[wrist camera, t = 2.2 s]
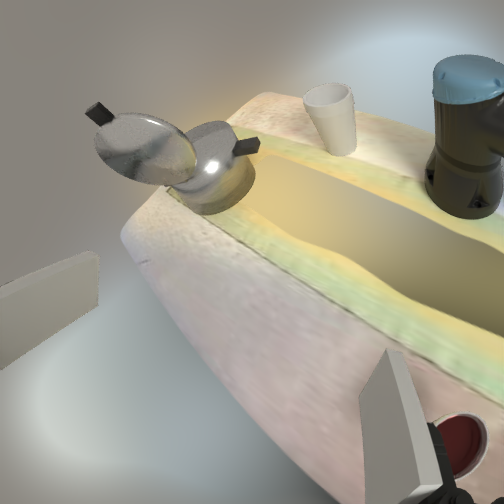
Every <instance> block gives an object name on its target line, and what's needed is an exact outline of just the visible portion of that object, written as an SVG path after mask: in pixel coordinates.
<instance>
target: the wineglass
mask: <svg viewBox="0 0 504 504" xmlns="http://www.w3.org/2000/svg"><path fill="white" fill-rule="evenodd" d="M431 423H434V425H435V426H436V427H437V429H438V430H439V431H440V433H441V435H442V438H443V441H444V444H445V445H444V447H445V448H446V451H447V456H448V457H449V461H450V464H451V468H452V472H453V475H454V479H455V481H458V480H461V479H463V478H465V477H466V476H468V475H469V474H471V473H472V472H473V471H474V470H475V469H476V468H477V467H478V466H479V465H480V463H481V462H482V460H483V458H484V456H485V455H486V453H487V449H488V445H489V430H488V427H487V425H486V423H485V421H484V420H483V419H482V418H481V417H480V416H479V415H477V414H475V413H472V412H452V413H449V414H445V415H443V416H441V417H440V418H438V419H437V420H435V421H433V422H431Z"/></svg>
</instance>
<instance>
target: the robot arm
mask: <svg viewBox="0 0 504 504" xmlns="http://www.w3.org/2000/svg"><path fill="white" fill-rule="evenodd" d="M432 94H433V97H434V109H435V146H434V149H433V151H432V153H431V156H430V158H429V160H428V162H427V165H426V169H425V186H426V190H427V192H428V194H429V196H430V197H431V199H432V200H433V201H434V202H435V203H436V204H437V205H438V206H439V207H440V208H441V209H443V210H444V211H446V212H447V213H449V214H451V215H454V216H456V217H459V218H463V219H481V218H485V217H487V216H489V215H491V214H492V213H493V212H494V211H495V210H496V209H497V207H498V206H499V203H500V200H501V197H502V193H503V181H502V172H501V164H500V161H501V157H503V158H504V65H503V64H502V63H500V62H496V61H495V60H493V59H490V58H488V57H483V56H478V55H456V56H451V57H447V58H445V59H443V60H441V61H440V62H438V63H437V65H436V66H435V68H434V71H433V91H432ZM98 277H99V255H98V254H96V253H94V252H91V251H89V250H88V251H85V252H83V253H80V254H77V255H75V256H72V257H70V258H67V259H64V260H62V261H59V262H57V263H54V264H52V265H50V266H47V267H45V268H42V269H40V270H37V271H35V272H32V273H30V274H28V275H26V276H23V277H21V278H18V279H16V280H13V281H11V282H8V283H6V284H4V285H2V286H0V370H2V369H4V368H5V367H7V366H8V365H9V364H11V363H12V362H14V361H15V360H17V359H18V358H20V357H21V356H22V355H24V354H25V353H27V352H28V351H30V350H31V349H33V348H34V347H36V346H37V345H39V344H40V343H42V342H43V341H45V340H46V339H48V338H49V337H51V336H52V335H54V334H55V333H57V332H58V331H60V330H61V329H63V328H64V327H66V326H67V325H69V324H71V323H72V322H74V321H75V320H77V319H78V318H80V317H81V316H83V315H85V314H86V313H88V312H89V311H91V310H92V309H94V308H95V307H97V306H98V279H99V278H98ZM359 404H360V414H361V425H362V437H363V451H364V470H365V504H476V503H474V501H473V499H472V497H471V495H470V494H469V493H468V492H467V491H465V490H463V489H461V488H457V487H456V483H455V479H454V475H453V472H452V468H451V464H450V461H449V457H448V456H447V451H446V448H445V447H444V445H445V444H444V441H443V438H442V435H441V433H440V431H439V430H438V429H437V427H436V426H435V425H434V423H426V420H425V416H424V413H423V410H422V407H421V404H420V401H419V398H418V395H417V392H416V389H415V387H414V384H413V381H412V378H411V375H410V373H409V370H408V367H407V365H406V362H405V359H404V357H403V354H402V352H399V351H394V350H390V349H386V350H385V352H384V353H383V355H382V357H381V359H380V361H379V363H378V365H377V366H376V368H375V370H374V372H373V374H372V375H371V377H370V379H369V381H368V382H367V384H366V386H365V387H364V389H363V391H362V392H361V394H360V396H359ZM491 504H504V497H500V498H498V499H496V500H495V501H494V502H492V503H491Z"/></svg>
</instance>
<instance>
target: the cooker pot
mask: <svg viewBox="0 0 504 504" xmlns="http://www.w3.org/2000/svg"><path fill="white" fill-rule="evenodd" d="M185 135H186V136H187V137H188V138H189V140H190V141H191V142H192V144H193V146H194V148H195V150H196V154H197V162H196V166H195V169H194V172H193V174H192V175H191V176H190V177H189V178H188V182H187V183H182V184H177V185H172V188H173V189H174V190H175V191H176V192H177V194H178V195H179V196H180V197H181V198H182V199H183V201H184V202H185V203H186V204H187V205H188V207H189V208H190V209H191V210H192V211H193V212H194V213H196V214H199V215H213V214H217V213H220V212H222V211H225V210H227V209H229V208H230V207H232V206H234V205H235V204H236V203H238V202H239V201H240V200H241V199H242V198H243V197H244V196H245V195H246V194H247V193H248V192H249V190H250V189H251V187H252V185H253V183H254V180H255V169H254V167H253V165H252V163H251V161H250V160H249V158H248V156H247V155H248V154H254V153H258V150H259V146H260V141H259V139H258V137H254V138H249V139H244V140H238V138H237V137H236V135H235V133H234V131H233V130H232V128H231V126H230V125H229V124H228V123H227V122H224V121H212V122H208V123H205V124H202V125H199V126H197V127H195V128H193V129H191V130H190V131H188V132H186V133H185Z"/></svg>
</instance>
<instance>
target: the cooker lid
mask: <svg viewBox="0 0 504 504" xmlns="http://www.w3.org/2000/svg"><path fill="white" fill-rule="evenodd" d="M85 114H86V115H87V116H88V117H89V118H90V119H92V120H93V121H94V122H95V123H96V124H98V125H99V126H100V127H99V129H98V131H97V132H96V135H95V138H94V143H95V148H96V151H97V153H98V155H99V156H100V158H101V159H102V160H103V161H104V162H105V163H106V164H107V165H108V166H109V167H110V168H112V169H113V170H114V171H116V172H118V173H119V174H121V175H123V176H125V177H127V178H129V179H132V180H135V181H138V182H141V183H146V184H152V185H164V186H165V187H168V186H172V185H177V184H182V183H187V182H188V178H189V177H190V176H191V175H192V174H193V172H194V169H195V166H196V162H197V154H196V150H195V148H194V146H193V144H192V142H191V141H190V140H189V138H188V137H187V136H186V135H185V134H183V132H182V131H180V130H179V129H178V128H177V127H175V126H173V125H172V124H170V123H168V122H166V121H164V120H162V119H159V118H157V117H154V116H151V115H147V114H141V113H123V114H118V115H113V114H112V113H111V112H110V111H109V110H108V109H106V108H105V107H104V106H103V105H102V104H101V103H100V102H97V103H96V104H94V105H93V106H91V107H90V108H89V109H87V111H86V113H85Z"/></svg>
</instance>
